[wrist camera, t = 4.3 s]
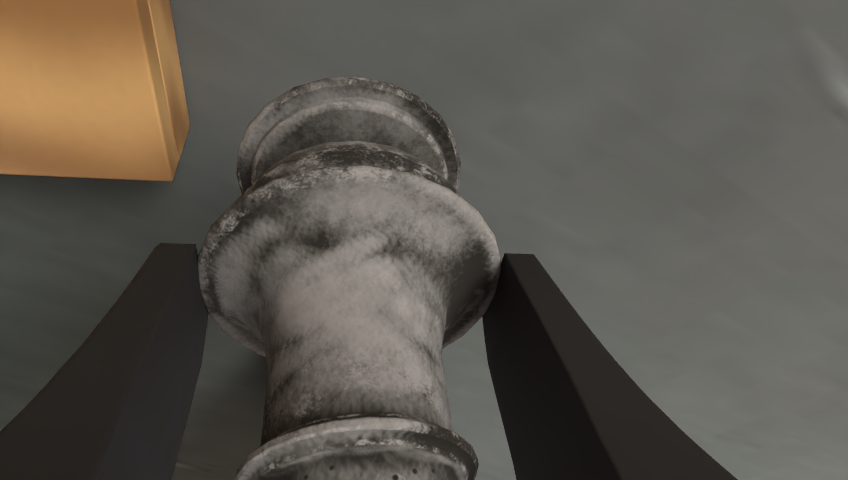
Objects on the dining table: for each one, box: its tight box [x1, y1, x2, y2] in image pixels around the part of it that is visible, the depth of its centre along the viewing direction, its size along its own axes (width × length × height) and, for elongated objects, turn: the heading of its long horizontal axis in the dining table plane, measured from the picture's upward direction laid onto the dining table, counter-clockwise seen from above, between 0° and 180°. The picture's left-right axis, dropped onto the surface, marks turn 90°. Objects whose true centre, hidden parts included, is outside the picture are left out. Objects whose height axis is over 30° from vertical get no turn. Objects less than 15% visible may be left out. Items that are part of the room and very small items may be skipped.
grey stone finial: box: [198, 77, 502, 480], centre depth 10 cm, size 6×6×12 cm
